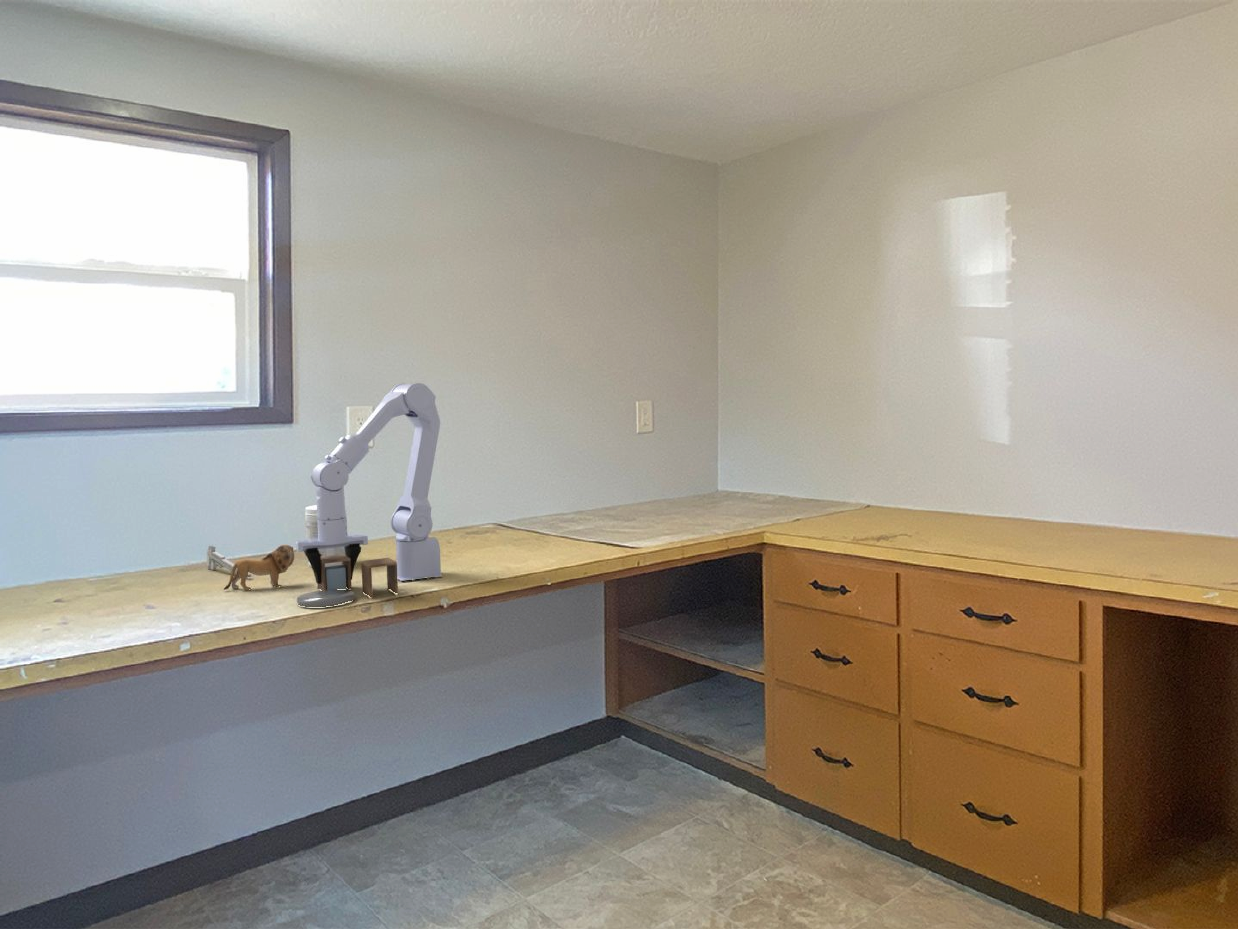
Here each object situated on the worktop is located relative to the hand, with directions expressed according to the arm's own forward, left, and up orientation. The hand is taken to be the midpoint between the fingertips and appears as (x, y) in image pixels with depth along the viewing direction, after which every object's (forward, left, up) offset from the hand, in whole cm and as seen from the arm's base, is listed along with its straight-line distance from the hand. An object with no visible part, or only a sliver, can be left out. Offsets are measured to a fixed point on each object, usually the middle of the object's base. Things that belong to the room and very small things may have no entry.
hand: (334, 581), depth 182 cm
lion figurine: (+13, -12, -2) cm, 18 cm away
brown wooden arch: (0, 0, -2) cm, 2 cm away
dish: (+4, +10, -2) cm, 11 cm away
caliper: (+17, -31, -2) cm, 35 cm away
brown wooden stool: (-7, +10, -2) cm, 12 cm away
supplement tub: (-5, -28, -2) cm, 29 cm away
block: (0, 0, -2) cm, 2 cm away
